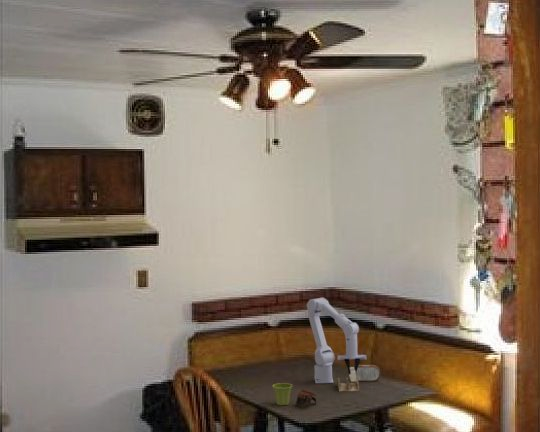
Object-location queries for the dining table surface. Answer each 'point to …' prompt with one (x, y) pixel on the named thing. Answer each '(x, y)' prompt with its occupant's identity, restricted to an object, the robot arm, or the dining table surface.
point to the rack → (348, 385)
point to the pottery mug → (305, 401)
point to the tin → (368, 373)
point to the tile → (352, 374)
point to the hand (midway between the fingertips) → (352, 373)
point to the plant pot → (282, 393)
